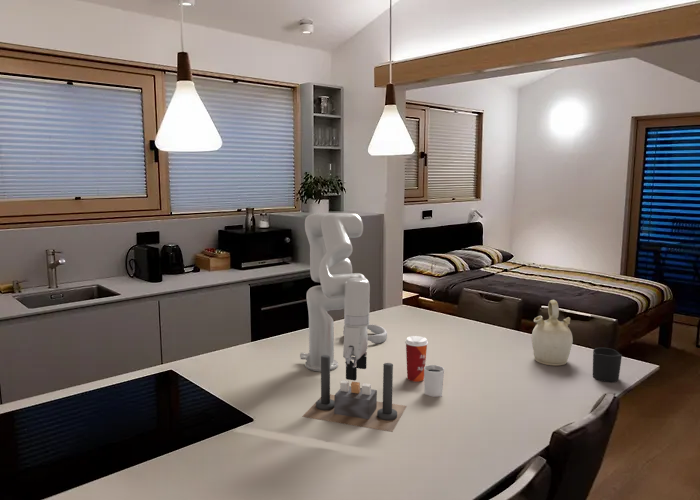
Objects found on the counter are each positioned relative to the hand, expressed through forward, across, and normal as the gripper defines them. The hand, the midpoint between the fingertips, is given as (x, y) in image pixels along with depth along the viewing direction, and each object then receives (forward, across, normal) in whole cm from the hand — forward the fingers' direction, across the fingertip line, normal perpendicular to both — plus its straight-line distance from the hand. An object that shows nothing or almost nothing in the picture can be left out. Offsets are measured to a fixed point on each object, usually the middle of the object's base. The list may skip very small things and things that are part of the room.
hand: (356, 373), depth 162 cm
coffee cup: (+14, -36, +11) cm, 40 cm away
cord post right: (+12, 0, +10) cm, 16 cm away
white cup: (+14, -22, +20) cm, 32 cm away
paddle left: (+6, 0, -4) cm, 7 cm away
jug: (+14, -73, +58) cm, 94 cm away
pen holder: (+14, -60, +77) cm, 98 cm away
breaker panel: (+13, 0, 0) cm, 13 cm away
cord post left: (+12, 0, -10) cm, 16 cm away
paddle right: (+6, 0, +4) cm, 7 cm away
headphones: (+14, -75, -20) cm, 79 cm away
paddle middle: (+6, 0, 0) cm, 6 cm away
